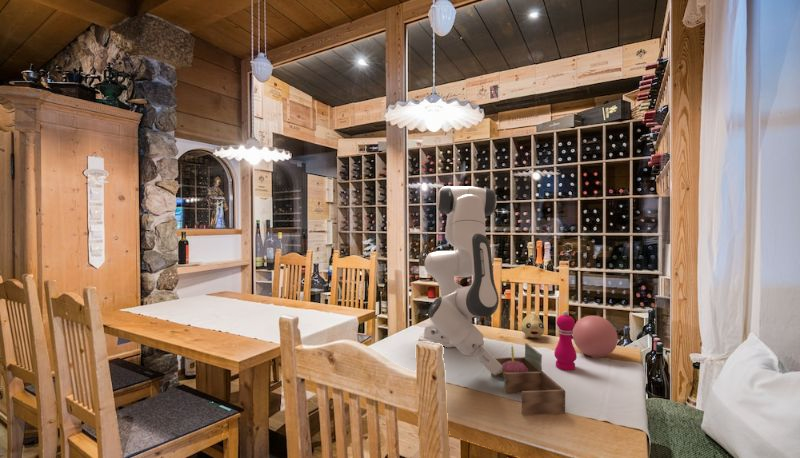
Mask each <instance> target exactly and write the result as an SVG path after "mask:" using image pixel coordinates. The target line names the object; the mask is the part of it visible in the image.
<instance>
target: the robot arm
mask: <svg viewBox="0 0 800 458" xmlns="http://www.w3.org/2000/svg"><path fill="white" fill-rule="evenodd" d="M435 201H436V206H437V210H438V212H440V213H442V214H445V215H447V217H446V224H445V233H444V237H445V240H446V242H447V243H448V244H449V245H451V246H452V247H455V248H456V249H455V250H436V251H433V252H429V253H428V254H427V255H426V257H425V258H424V259H425V260H424V269H425V271H426V273H427V274H429V276H431V277H432V278H433V280H435V281H436V282H437V285H438V287H439V290H440V296H438V297H437V298H435V300H434V301H433V302H432V303H431V304H430V307H429V309H428V317H429V320H430V321H429V322H428V323H426V325H425V326H424V329H423V330H424V332H423V333H422V334H421V335H419V336H418V341H420V342H422V341H430V342H434V343H440V344H442V345H443V346H445V347H444V348H446V347H447V348H453V347H455V348H456V349H457V350H458V351H459V352H460V353H461V354H462V355H464V356H468V355H469V356H475V358H476V359H478V361H479V362H480V363H481V364H482V365H483V366H484V367H485V368H486V369H487V370H488V371H489V372H490V374H491V373H492V374H493V375H497V374H500V373H501V372H502V368H503V367H502V365H501V364H500V363H499V362H498V361H497V360H496V359H495V358H496V357H494V356H493V354H492V353H491V352H490V351H489V350H488V349H487V348H486V347H485V346H484V345H485V341H484V334H483V332H481V331H480V330H479V328H477V327H476V325H475V324H473V322H472V319H474V317H479V318H480V317H481V318H486V317H490V316H492V315H493V314H494V313H495V312H496V311H497V310H498V306H499V303H500V299H499V293H498V290H497V287H496V283H495V277H494V270H493V269H494V268H493V258H492V251H491V249H492V248H491V244H490V241H489V239H488V237H487V234H486V217H488V216H491V215H492V214H493V213H494V212H495V210H496V208H497V207H496V206H497V196H496V193H495V191H494V190H493V189H489V188H487V187H484V188H483V187H478V186H468V185H467V186H464V185H463V186H462V185H461V186H460V185H459V186H458V185H457V186H451V185H446V186H442V187H441V188H439V191H438V192H437V194H436V199H435ZM456 277H472V282H471V284H470V285H468V286H462V285H461V284H459V283H457V282H456V280H455V278H456ZM447 348H446V349H447Z"/></svg>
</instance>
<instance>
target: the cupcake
mask: <svg viewBox="0 0 800 458" xmlns="http://www.w3.org/2000/svg"><path fill="white" fill-rule="evenodd" d="M510 349H511V357H512V360H511V361H506V362H504V363H503V364H502V367H503V368H502V372H501V373H502V374H503V376H502V377H503V378H504V379H505V373H515V372H528V369H527V367H526V366H525V365H524V364H523V363H521V362H518V361H514V357H515V353H514V346H513V345H511V348H510Z"/></svg>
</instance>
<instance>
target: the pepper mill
mask: <svg viewBox="0 0 800 458" xmlns="http://www.w3.org/2000/svg"><path fill="white" fill-rule="evenodd" d="M575 324H576V322H575V319H574V318H573V316H570V315H569V312H568V311H567V310H563V312H562V315H559V316H558V317H557V318H556V325H557V327H558V329H557V333H558V334H559V335H558V336H559V340H558V342H557V344H556V347H555V350H554V357H555V358H556V360H555V367H556V368H557V369H559V370H563V371H568V372H569V371H573V370H576V369H575V368H576V363H575V361H576V360H577V352H576V349H575V347H574V344H573V328H574V326H575Z"/></svg>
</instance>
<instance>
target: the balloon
mask: <svg viewBox="0 0 800 458" xmlns="http://www.w3.org/2000/svg"><path fill="white" fill-rule="evenodd" d="M618 339H619V336H618V333H617V330H616V329H615V327H614V325H613V323H611V322H610V321H609V320H608V319H606V318H604V317H602V316H598V315H586V316H583V317H582V318H579V320H577V321H576V322H575V326H574V328H573V334H572V341H573V342H574V344H575V347H577V349H578V350H579V351H580V352H582V353H583V354H584V355H586V356H588V357H592V358H602V357H606V356H608V355H611V354H612V353H613V352H614V351H615V349H616V348H617V346H618Z"/></svg>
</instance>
